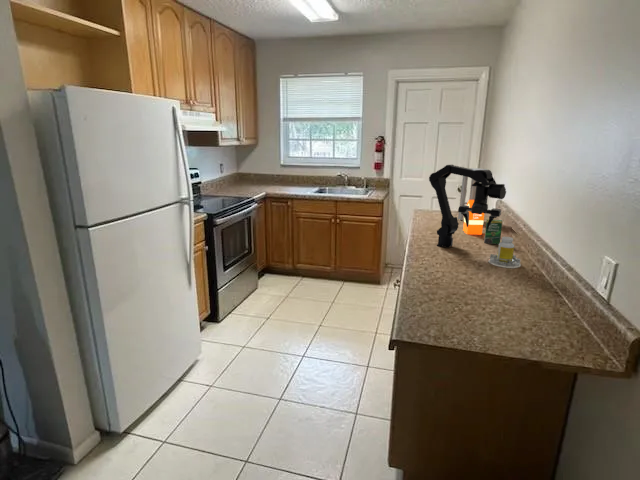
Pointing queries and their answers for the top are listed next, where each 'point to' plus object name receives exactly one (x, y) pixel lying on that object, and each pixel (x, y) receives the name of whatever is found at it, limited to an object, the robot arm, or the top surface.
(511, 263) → the steel ashtray
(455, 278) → the top surface
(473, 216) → the orange juice
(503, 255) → the pill bottle
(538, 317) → the top surface
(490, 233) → the coffee box
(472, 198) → the stool
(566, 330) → the top surface
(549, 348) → the top surface
